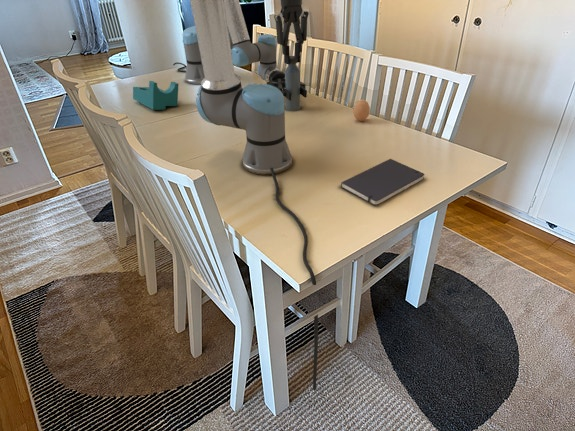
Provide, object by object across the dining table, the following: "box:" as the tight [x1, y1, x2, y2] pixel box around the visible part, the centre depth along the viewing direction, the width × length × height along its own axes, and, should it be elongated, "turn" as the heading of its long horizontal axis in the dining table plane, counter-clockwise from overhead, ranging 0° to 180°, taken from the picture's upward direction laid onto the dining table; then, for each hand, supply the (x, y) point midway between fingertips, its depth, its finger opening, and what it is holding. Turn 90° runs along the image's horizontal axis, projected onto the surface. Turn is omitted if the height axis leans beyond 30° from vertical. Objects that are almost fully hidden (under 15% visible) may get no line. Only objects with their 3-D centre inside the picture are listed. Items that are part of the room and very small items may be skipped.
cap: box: [290, 55, 299, 65], centre depth 153 cm, size 4×4×2 cm
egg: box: [352, 99, 371, 122], centre depth 149 cm, size 6×6×8 cm
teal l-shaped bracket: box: [132, 80, 179, 111], centre depth 168 cm, size 18×11×10 cm, turn 43°
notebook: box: [340, 158, 425, 206], centre depth 114 cm, size 13×2×21 cm
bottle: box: [284, 63, 301, 112], centre depth 158 cm, size 6×6×19 cm
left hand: (298, 95), depth 156 cm, fingers closed on bottle, 6 cm apart
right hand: (292, 62), depth 153 cm, fingers closed on cap, 4 cm apart
